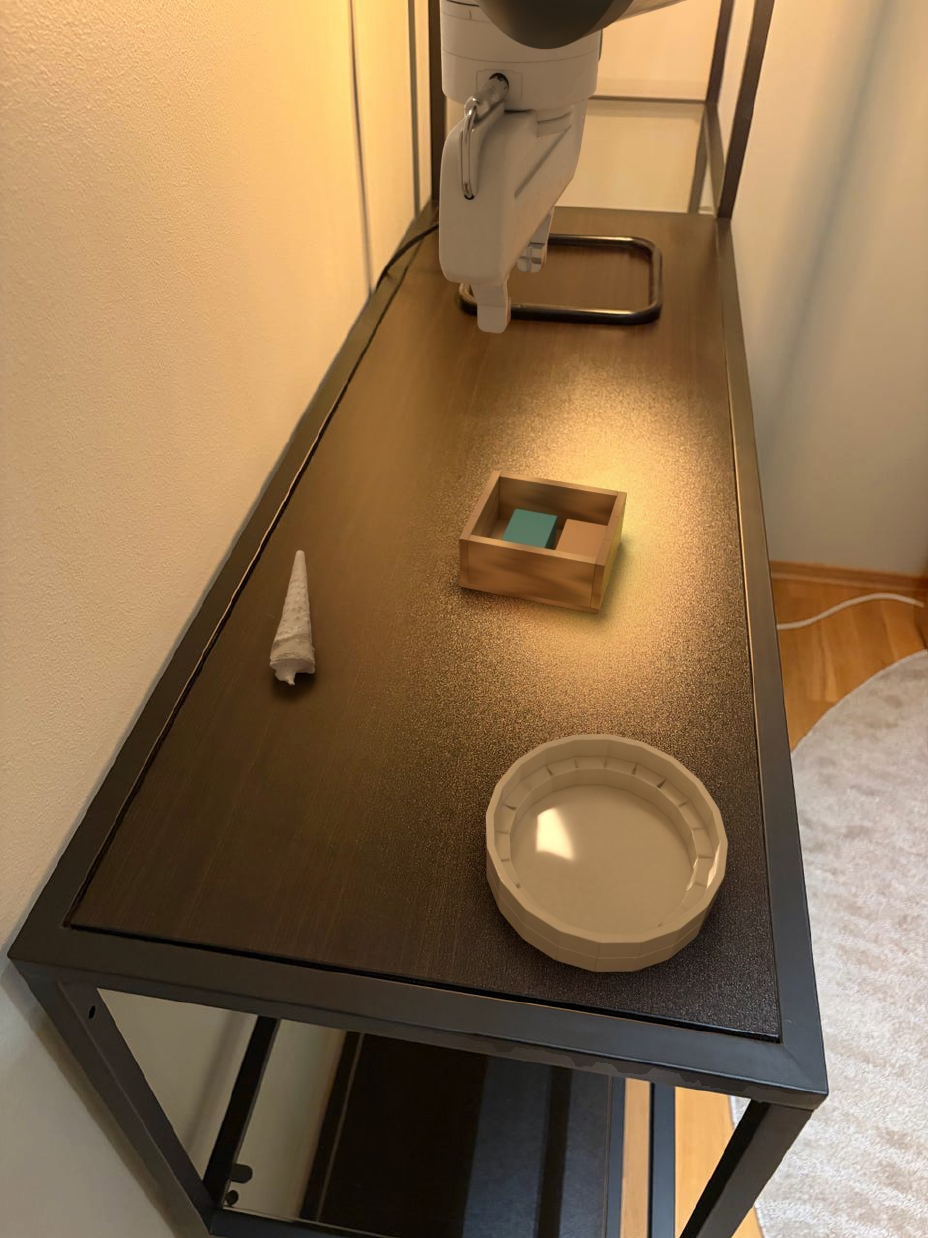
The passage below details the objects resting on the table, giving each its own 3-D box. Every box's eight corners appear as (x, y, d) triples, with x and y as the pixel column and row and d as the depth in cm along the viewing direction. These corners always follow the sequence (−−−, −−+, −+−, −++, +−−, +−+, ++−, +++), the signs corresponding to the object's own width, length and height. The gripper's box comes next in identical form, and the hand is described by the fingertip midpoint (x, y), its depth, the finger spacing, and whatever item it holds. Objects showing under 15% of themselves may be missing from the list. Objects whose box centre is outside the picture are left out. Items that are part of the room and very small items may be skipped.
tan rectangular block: (607, 549, 80) (610, 526, 78) (594, 591, 76) (597, 567, 74) (565, 542, 81) (567, 518, 79) (550, 583, 77) (551, 559, 75)
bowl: (724, 801, 61) (737, 763, 58) (699, 1008, 51) (713, 975, 48) (518, 751, 65) (520, 713, 62) (457, 936, 55) (455, 901, 51)
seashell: (303, 702, 70) (321, 682, 68) (257, 688, 69) (274, 667, 66) (325, 572, 78) (341, 549, 76) (284, 557, 77) (300, 533, 74)
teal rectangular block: (555, 539, 82) (557, 515, 80) (539, 580, 78) (541, 556, 76) (514, 531, 83) (515, 508, 81) (496, 571, 78) (497, 547, 76)
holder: (620, 540, 82) (627, 492, 78) (598, 614, 75) (604, 565, 71) (493, 517, 85) (493, 469, 81) (460, 587, 78) (458, 538, 74)
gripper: (527, 109, 41) (519, 377, 50) (609, 22, 55) (590, 245, 64) (402, 100, 42) (417, 362, 52) (512, 17, 56) (508, 236, 66)
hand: (513, 296), depth 58 cm, fingers open, 8 cm apart
